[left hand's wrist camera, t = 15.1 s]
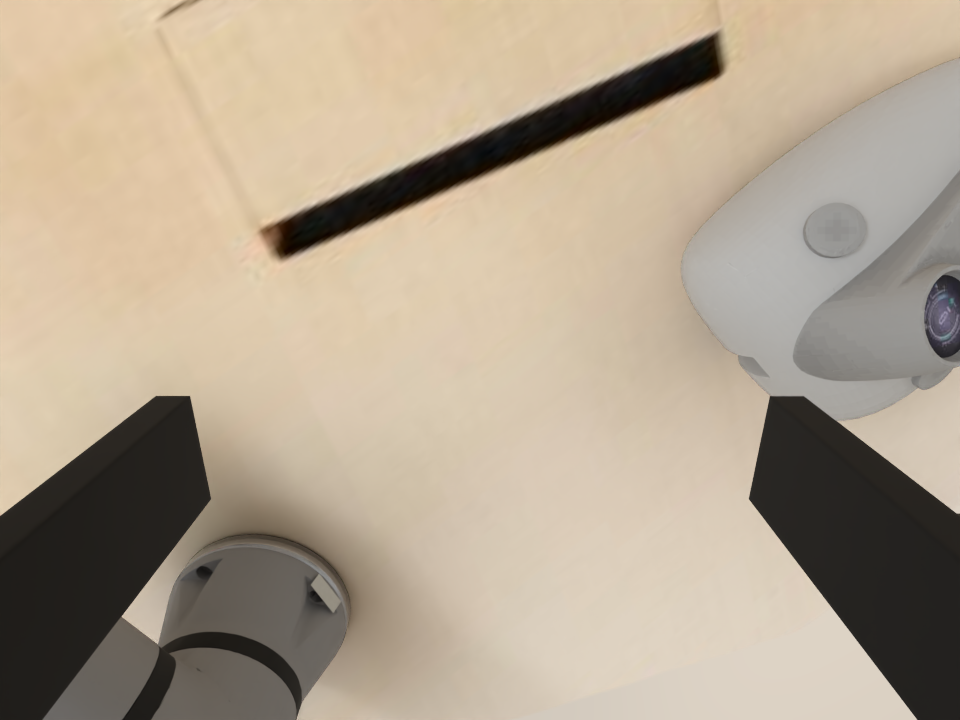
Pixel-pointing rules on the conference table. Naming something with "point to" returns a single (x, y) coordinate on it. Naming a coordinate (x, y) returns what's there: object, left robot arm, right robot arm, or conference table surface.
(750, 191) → the projector
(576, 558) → the conference table surface
